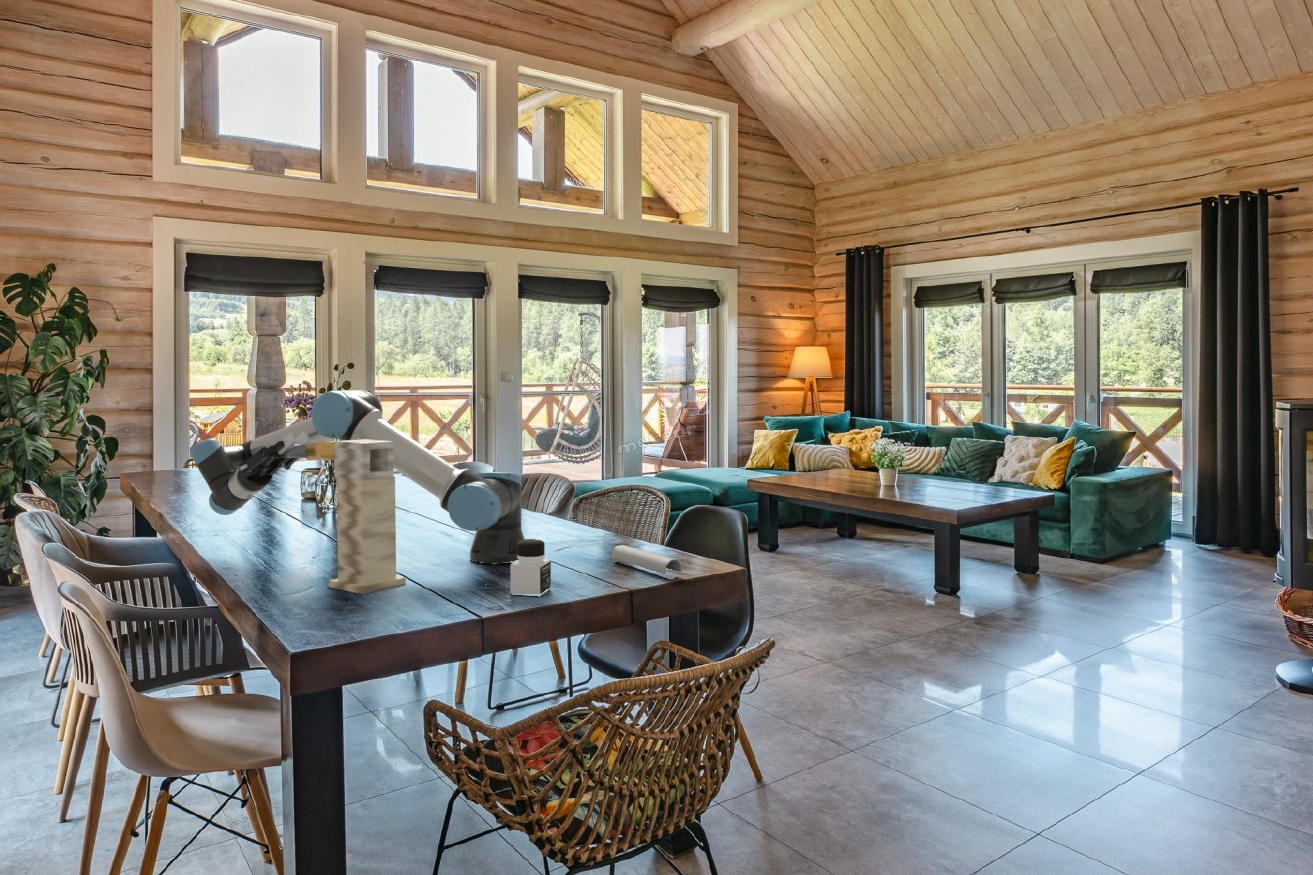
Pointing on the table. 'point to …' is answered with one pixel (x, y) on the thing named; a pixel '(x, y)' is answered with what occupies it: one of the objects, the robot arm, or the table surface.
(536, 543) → the medicine bottle
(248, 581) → the table surface
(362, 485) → the bore stand
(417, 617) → the table surface
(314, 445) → the plug rod
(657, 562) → the tube
